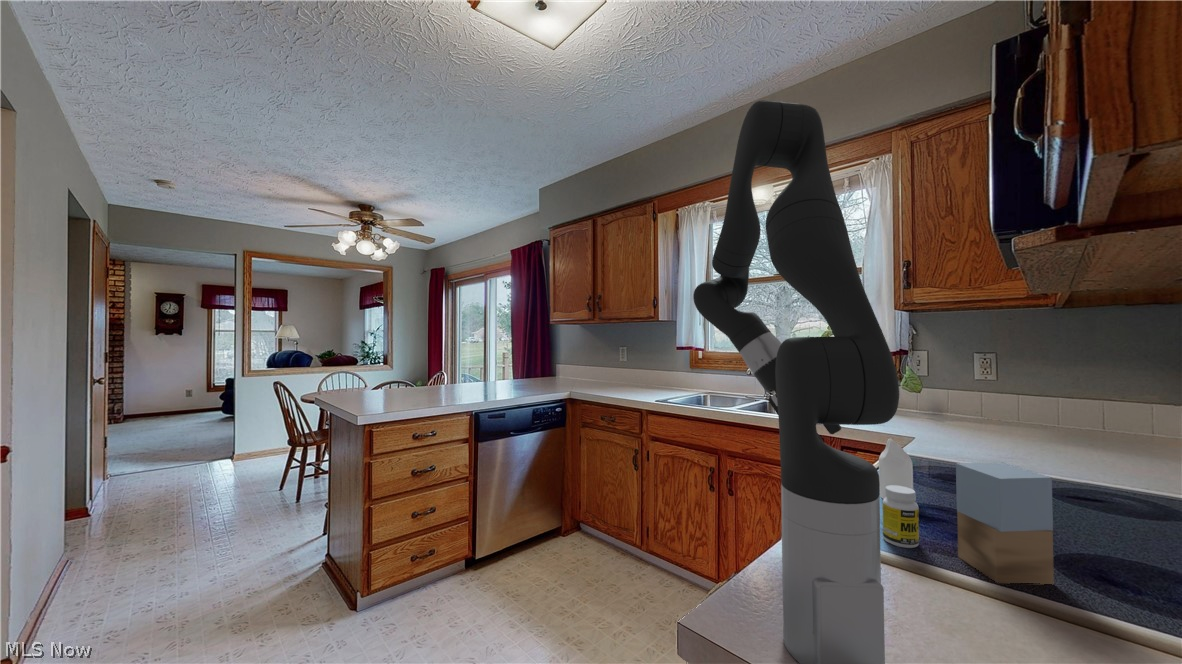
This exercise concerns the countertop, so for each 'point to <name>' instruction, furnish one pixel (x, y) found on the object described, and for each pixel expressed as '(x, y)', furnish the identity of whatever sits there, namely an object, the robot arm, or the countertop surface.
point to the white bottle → (894, 467)
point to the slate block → (1004, 496)
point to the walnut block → (1006, 552)
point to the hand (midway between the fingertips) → (827, 438)
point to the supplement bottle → (900, 517)
